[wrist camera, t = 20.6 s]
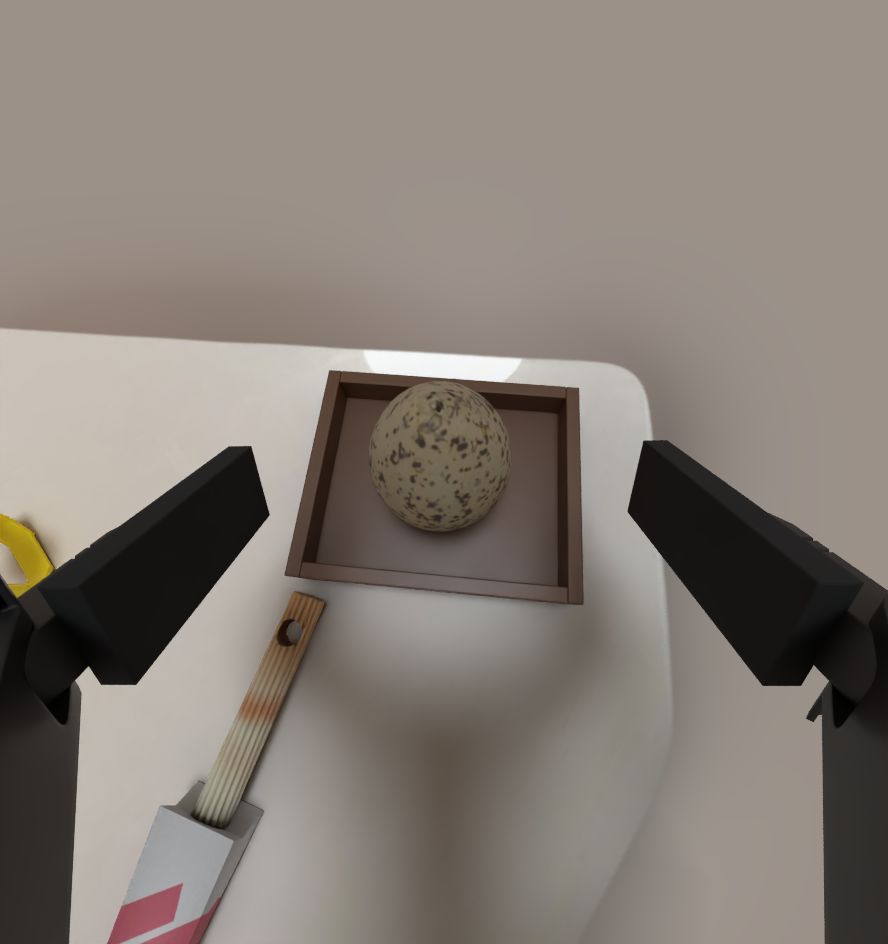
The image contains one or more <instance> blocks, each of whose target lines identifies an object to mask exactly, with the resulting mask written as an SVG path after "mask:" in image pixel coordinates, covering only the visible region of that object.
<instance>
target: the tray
mask: <svg viewBox="0 0 888 944" xmlns="http://www.w3.org/2000/svg"><path fill="white" fill-rule="evenodd" d="M431 381H448V382H453V383H458V384H461V385H464V386H466V387H468V388H470V389H472V390H474V391H475V392H477V393H479V394H480V395H481V396H482V397H484V398H485V399H486V400H487V401H488V402H489V403H490V404H491V405H492V406H493V408H494V409H495V410H496V411H497V413H498V414H499V416H500V417H501V419H502V421H503V423H504V425H505V427H506V430H507V432H508V435H509V439H510V444H511V450H512V466H511V473H510V477H509V481H508V484H507V487H506V489H505V491H504V493H503V495H502V497H501V498H500V500H499V501H498V503H497V504H496V505H495V507H494V508H493V509H492V510H491V511H490V512H489V513H488V514H487V515H486V516H484V517H483V518H482V519H480V520H479V521H477V522H475V523H474V524H472V525H469V526H467V527H465V528H461V529H457V530H454V531H445V532H437V531H429V530H424V529H420V528H417V527H414V526H412V525H410V524H408V523H406V522H404V521H403V520H401V519H400V518H398V517H397V516H396V515H395V514H394V513H393V512H392V511H391V510H390V509H389V508H388V507H387V506H386V505H385V504H384V502H383V501H382V499H381V498H380V496H379V495H378V493H377V491H376V489H375V486H374V483H373V481H372V478H371V473H370V468H369V445H370V440H371V436H372V432H373V429H374V427H375V425H376V422H377V420H378V418H379V417H380V415H381V413H382V412H383V411H384V409H385V408H386V407H387V406H388V404H389V403H390V402H391V401H392V400H393V399H395V398H396V397H397V396H398V395H399V394H401V393H402V392H404V391H405V390H407V389H409V388H411V387H413V386H415V385H418V384H421V383H425V382H431ZM285 576H290V577H298V578H305V579H315V580H326V581H336V582H346V583H356V584H366V585H377V586H387V587H397V588H407V589H417V590H427V591H438V592H448V593H458V594H468V595H478V596H489V597H499V598H509V599H519V600H529V601H539V602H550V603H560V604H573V605H583V555H582V508H581V460H580V413H579V388H571V387H567V388H566V387H559V386H545V385H531V384H516V383H502V382H488V381H474V380H460V379H446V378H431V377H417V376H403V375H389V374H375V373H361V372H347V371H342V372H341V371H332V370H330V371H329V374H328V379H327V384H326V388H325V393H324V397H323V402H322V406H321V411H320V416H319V420H318V425H317V429H316V434H315V438H314V443H313V448H312V452H311V457H310V461H309V466H308V470H307V475H306V480H305V484H304V489H303V493H302V498H301V502H300V507H299V512H298V516H297V521H296V525H295V530H294V534H293V539H292V544H291V548H290V553H289V557H288V562H287V566H286V571H285Z"/></svg>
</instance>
